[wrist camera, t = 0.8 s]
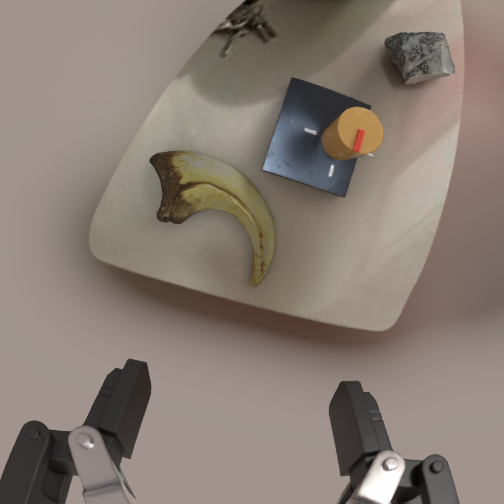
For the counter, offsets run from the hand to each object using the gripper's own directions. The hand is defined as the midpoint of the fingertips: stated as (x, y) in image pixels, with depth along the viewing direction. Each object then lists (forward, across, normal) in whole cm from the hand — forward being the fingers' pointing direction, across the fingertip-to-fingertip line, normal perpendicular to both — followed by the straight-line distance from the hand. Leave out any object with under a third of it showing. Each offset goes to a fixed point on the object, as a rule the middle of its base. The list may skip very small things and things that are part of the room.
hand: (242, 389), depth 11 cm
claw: (+27, +4, +1) cm, 27 cm away
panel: (+28, -7, -10) cm, 30 cm away
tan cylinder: (+25, -9, -10) cm, 28 cm away
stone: (+30, -19, -24) cm, 43 cm away
